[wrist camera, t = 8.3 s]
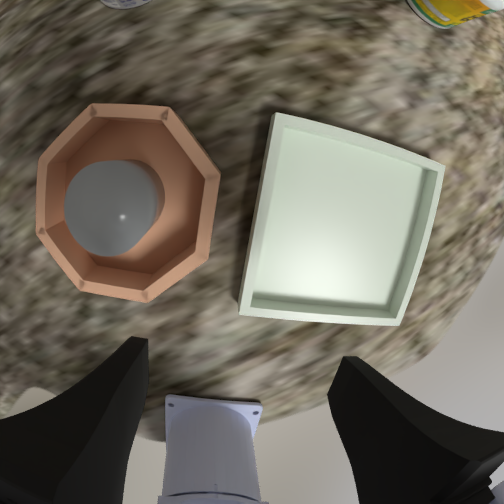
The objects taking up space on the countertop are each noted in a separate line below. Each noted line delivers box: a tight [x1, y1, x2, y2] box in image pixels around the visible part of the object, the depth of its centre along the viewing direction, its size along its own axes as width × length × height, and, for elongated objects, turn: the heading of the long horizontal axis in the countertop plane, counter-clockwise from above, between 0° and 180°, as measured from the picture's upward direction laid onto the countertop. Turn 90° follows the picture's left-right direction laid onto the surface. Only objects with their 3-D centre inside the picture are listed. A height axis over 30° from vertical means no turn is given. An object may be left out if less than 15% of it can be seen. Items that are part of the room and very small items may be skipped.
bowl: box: [36, 103, 221, 303], centre depth 16 cm, size 10×10×3 cm
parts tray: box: [238, 112, 445, 326], centre depth 18 cm, size 12×12×2 cm
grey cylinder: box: [64, 159, 165, 256], centre depth 14 cm, size 4×4×4 cm
